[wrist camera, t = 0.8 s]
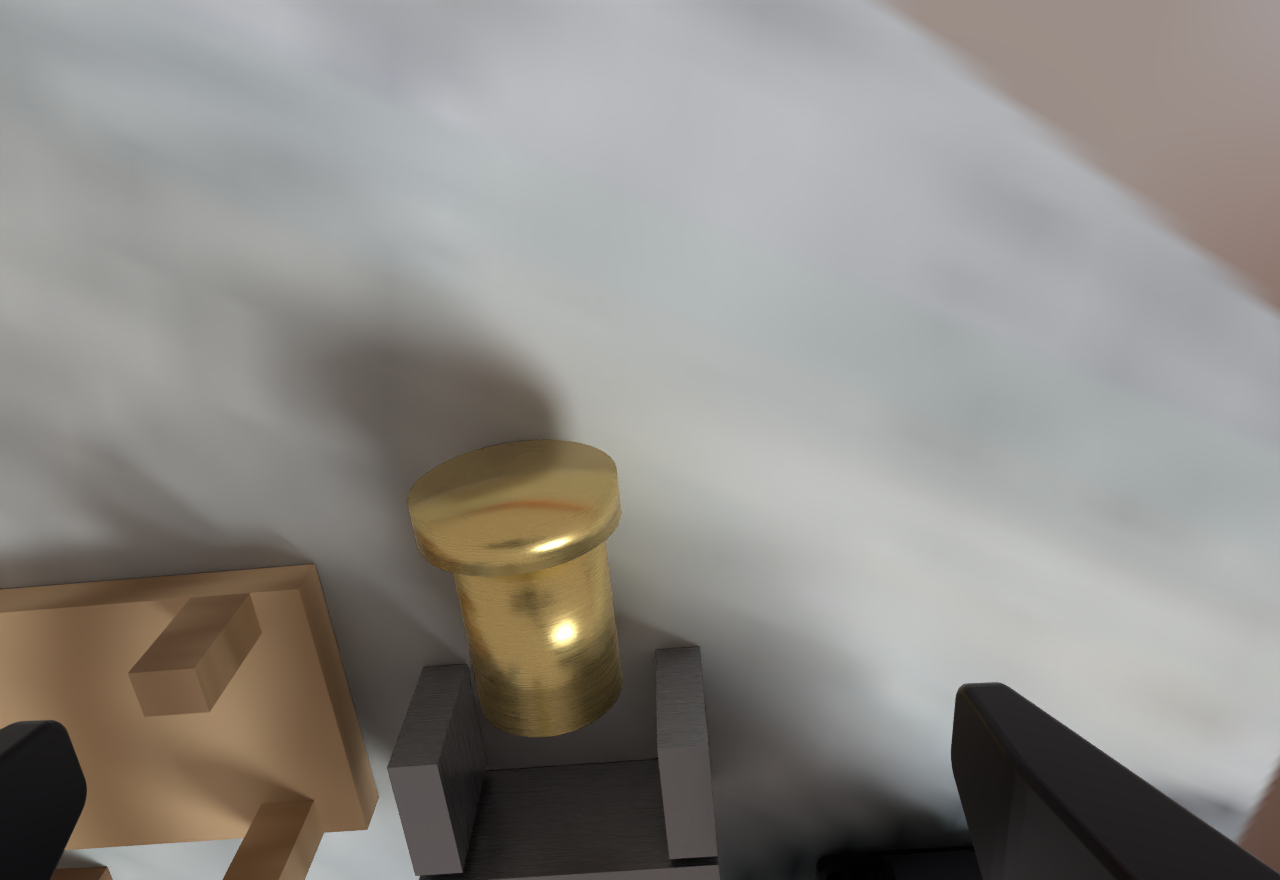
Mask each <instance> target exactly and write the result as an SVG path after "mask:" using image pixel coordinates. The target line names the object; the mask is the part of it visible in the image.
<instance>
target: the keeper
mask: <svg viewBox="0 0 1280 880" xmlns="http://www.w3.org/2000/svg"><path fill="white" fill-rule="evenodd" d="M656 709H657V752H658V759H656V760H642V761H628V762H613V763H599V764H585V765H571V766H556V767H542V768H528V769H514V770H499V771H486V766H487V760H486V755H485V750H484V745H483V741H482V736H481V731H480V726H479V721H478V716H477V712H476V707H475V702H474V697H473V692H472V688H471V683H470V678H469V673H468V668H467V664H463V665H450V666H436V667H424V668H423V670H422V673H421V676H420V679H419V681H418V684H417V687H416V690H415V692H414V695H413V698H412V701H411V703H410V706H409V709H408V712H407V714H406V717H405V720H404V723H403V725H402V728H401V731H400V734H399V737H398V739H397V742H396V745H395V748H394V750H393V753H392V756H391V759H390V761H389V764H388V767H387V770H388V773H389V777H390V781H391V785H392V789H393V792H394V796H395V800H396V804H397V807H398V811H399V815H400V819H401V823H402V826H403V830H404V834H405V838H406V841H407V845H408V849H409V853H410V857H411V860H412V864H413V868H414V872H415V876H420V878H419V880H720V876H719V864H718V852H717V840H716V828H715V816H714V804H713V792H712V780H711V768H710V756H709V745H708V733H707V722H706V711H705V700H704V689H703V678H702V667H701V656H700V647H689V648H675V649H662V650H656Z"/></svg>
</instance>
